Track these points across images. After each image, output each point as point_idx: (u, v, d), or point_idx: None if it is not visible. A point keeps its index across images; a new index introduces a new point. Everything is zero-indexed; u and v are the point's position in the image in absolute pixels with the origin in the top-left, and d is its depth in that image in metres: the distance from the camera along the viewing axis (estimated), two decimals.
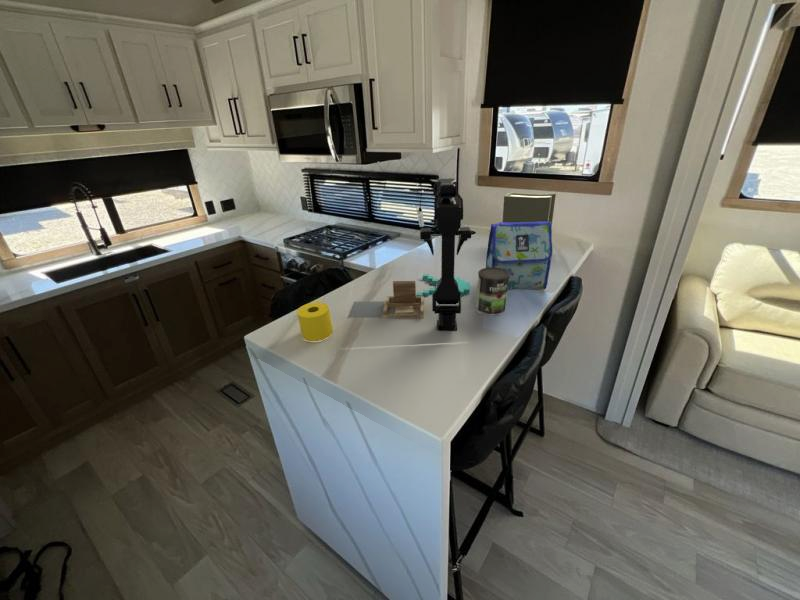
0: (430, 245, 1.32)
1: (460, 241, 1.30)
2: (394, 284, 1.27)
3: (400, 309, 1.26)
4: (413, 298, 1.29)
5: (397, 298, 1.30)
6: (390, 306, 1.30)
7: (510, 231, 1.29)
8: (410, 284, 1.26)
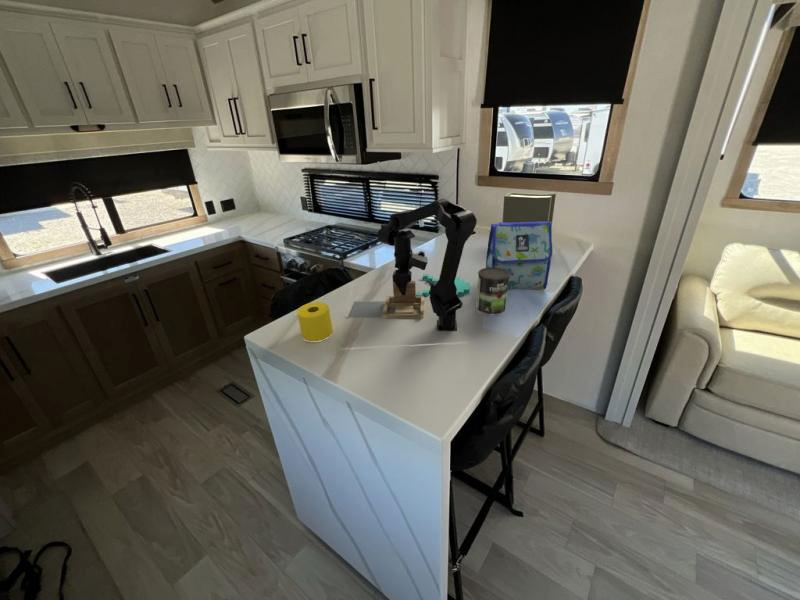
0: None
1: None
2: (394, 284, 1.27)
3: (400, 309, 1.26)
4: (413, 298, 1.29)
5: (397, 298, 1.30)
6: (390, 306, 1.30)
7: (510, 231, 1.29)
8: (410, 284, 1.26)
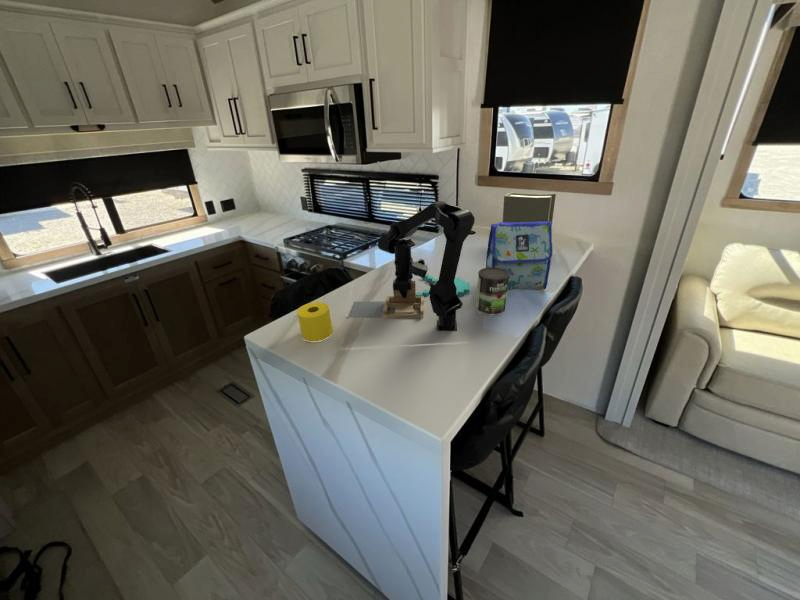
0: None
1: None
2: None
3: (400, 309, 1.26)
4: (413, 298, 1.29)
5: (397, 298, 1.30)
6: (390, 306, 1.30)
7: (510, 231, 1.29)
8: None
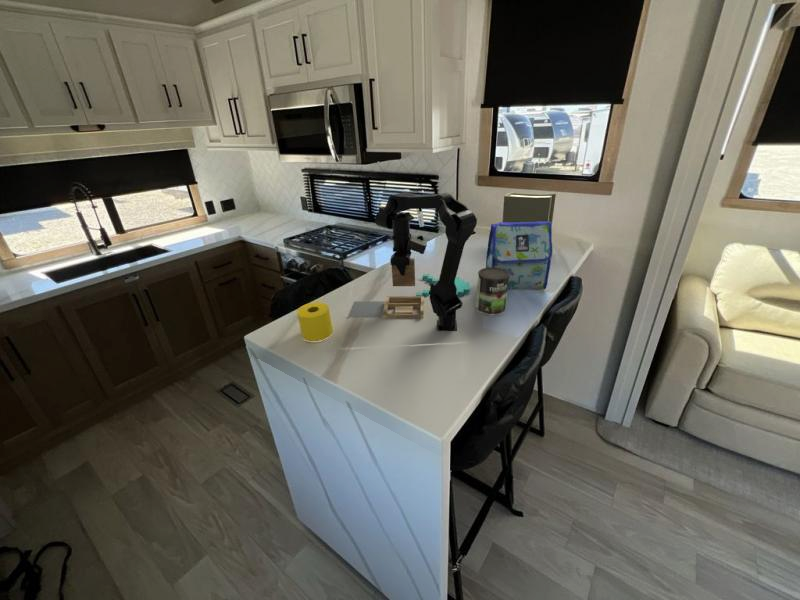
0: None
1: None
2: None
3: (400, 309, 1.26)
4: (412, 276, 1.25)
5: (396, 277, 1.25)
6: (390, 306, 1.30)
7: (510, 231, 1.29)
8: None
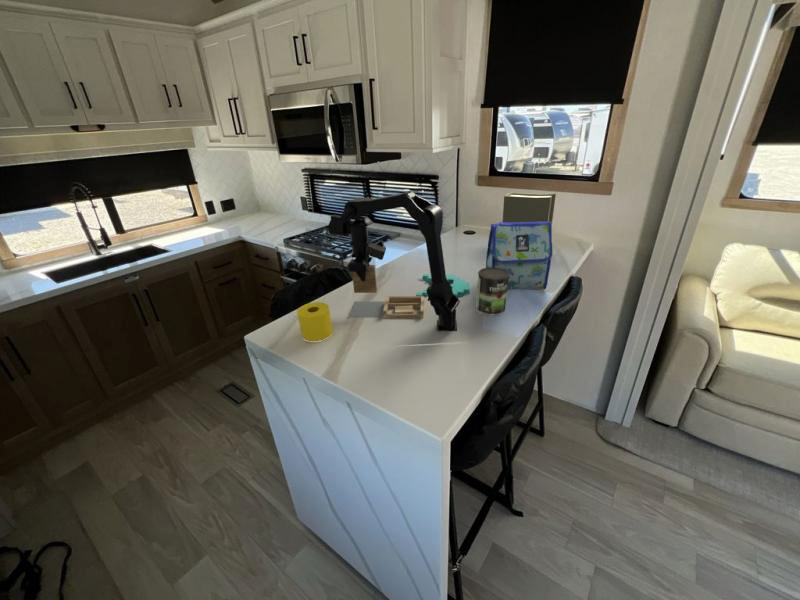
0: None
1: None
2: None
3: (400, 309, 1.26)
4: (373, 283, 1.24)
5: (357, 283, 1.25)
6: (390, 306, 1.30)
7: (510, 231, 1.29)
8: (369, 268, 1.21)
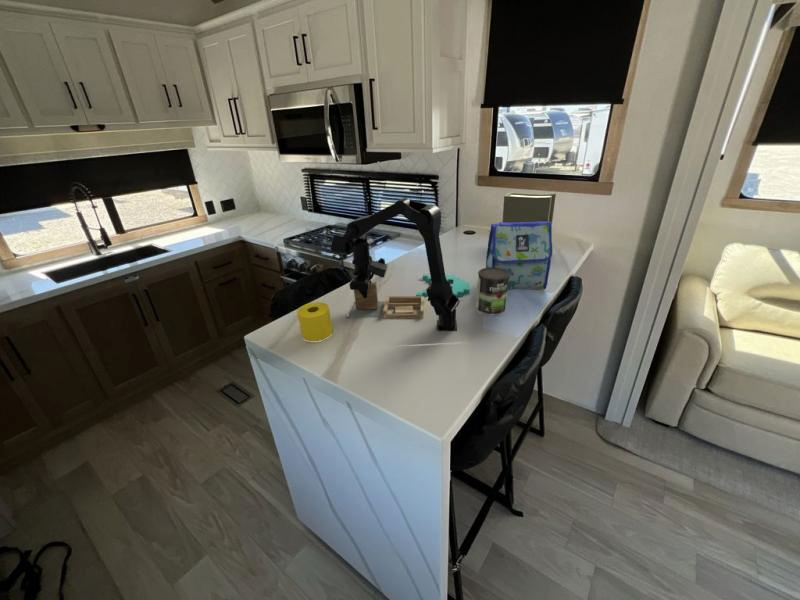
0: None
1: None
2: None
3: (400, 309, 1.26)
4: (374, 300, 1.27)
5: (358, 300, 1.28)
6: (390, 306, 1.30)
7: (510, 231, 1.29)
8: (370, 285, 1.25)
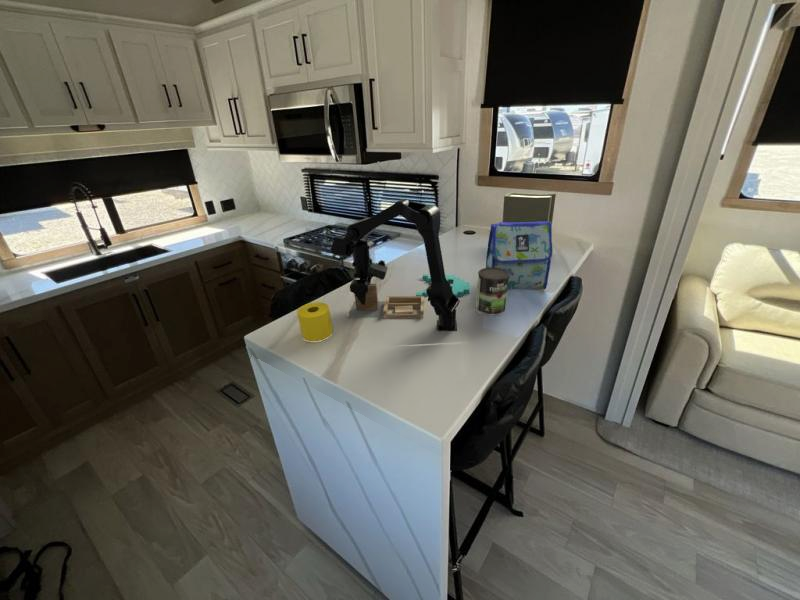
0: None
1: None
2: None
3: (400, 309, 1.27)
4: (374, 301, 1.27)
5: (359, 301, 1.28)
6: (390, 306, 1.30)
7: (510, 231, 1.29)
8: (371, 287, 1.25)
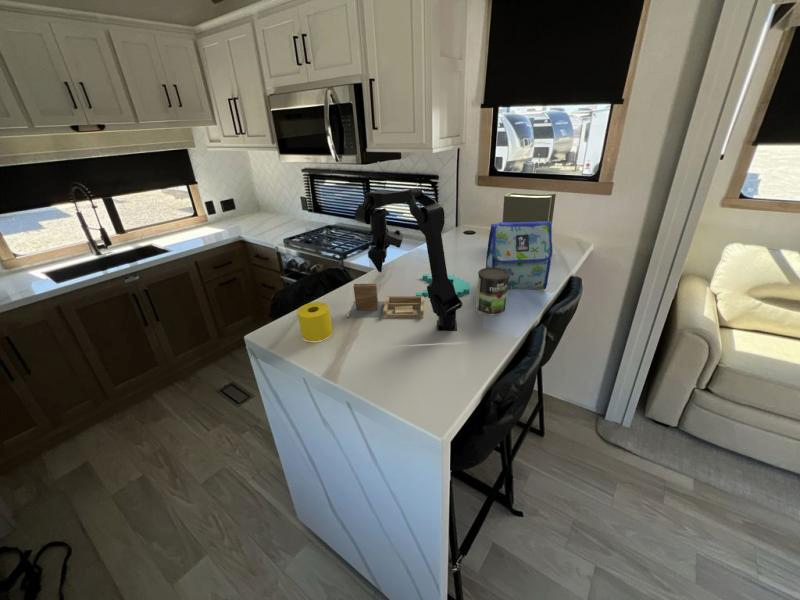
0: None
1: None
2: (355, 287, 1.25)
3: (400, 309, 1.26)
4: (374, 301, 1.27)
5: (359, 301, 1.28)
6: (390, 306, 1.30)
7: (510, 231, 1.29)
8: (371, 287, 1.25)
